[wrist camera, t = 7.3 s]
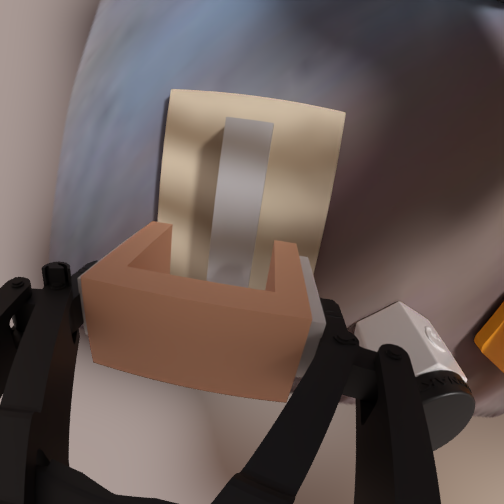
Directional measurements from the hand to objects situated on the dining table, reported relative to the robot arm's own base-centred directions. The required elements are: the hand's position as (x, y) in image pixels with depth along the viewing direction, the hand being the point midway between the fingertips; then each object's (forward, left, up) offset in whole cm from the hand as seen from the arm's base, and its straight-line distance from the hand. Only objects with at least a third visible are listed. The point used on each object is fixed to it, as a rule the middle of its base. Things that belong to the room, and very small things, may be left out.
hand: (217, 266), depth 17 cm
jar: (+9, +16, -8) cm, 20 cm away
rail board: (0, 0, -8) cm, 8 cm away
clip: (0, 0, 0) cm, 0 cm away
